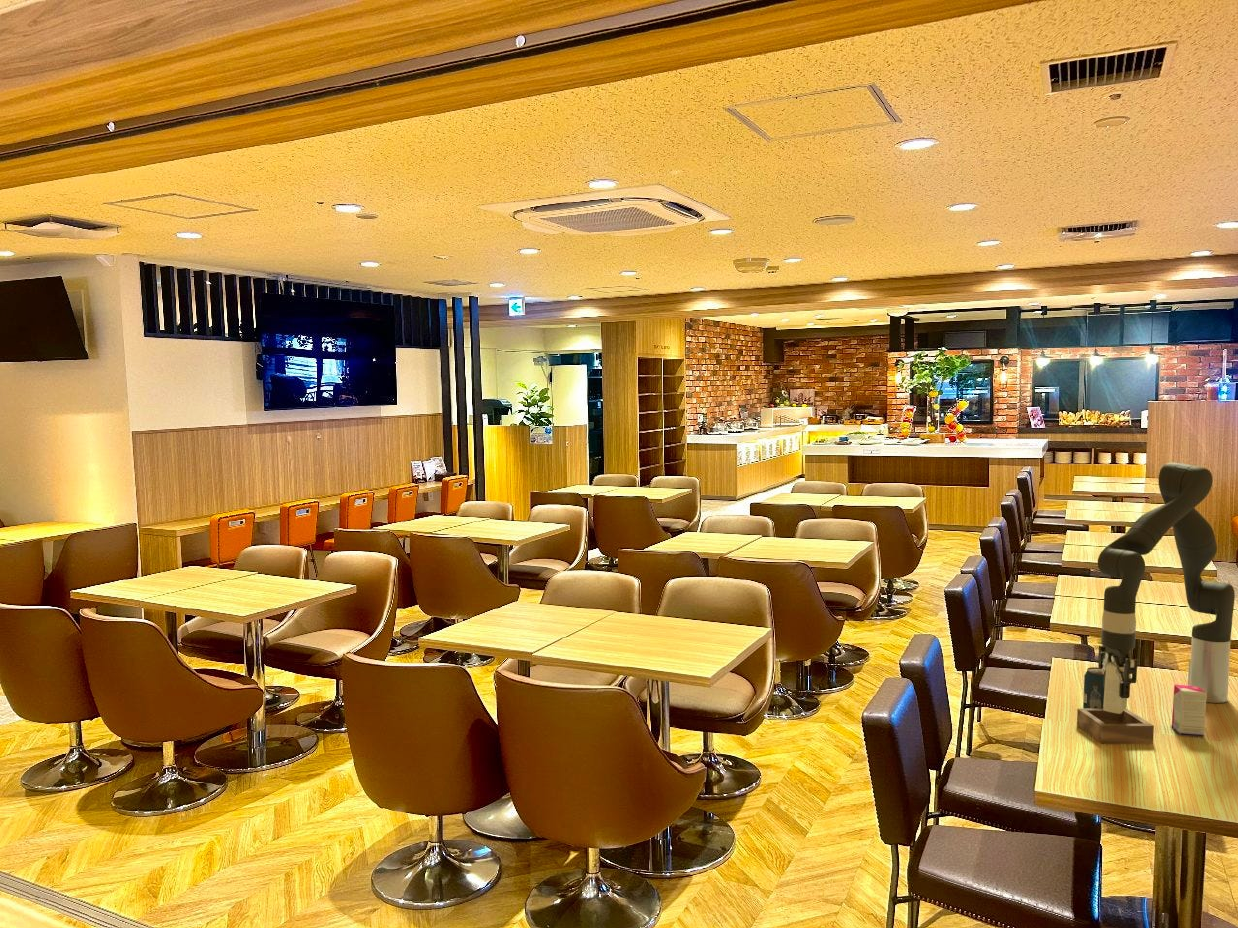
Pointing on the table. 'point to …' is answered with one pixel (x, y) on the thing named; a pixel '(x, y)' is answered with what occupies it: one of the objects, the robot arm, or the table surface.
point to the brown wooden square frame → (1115, 726)
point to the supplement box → (1189, 710)
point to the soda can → (1093, 688)
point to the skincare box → (1113, 691)
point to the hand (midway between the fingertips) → (1116, 692)
